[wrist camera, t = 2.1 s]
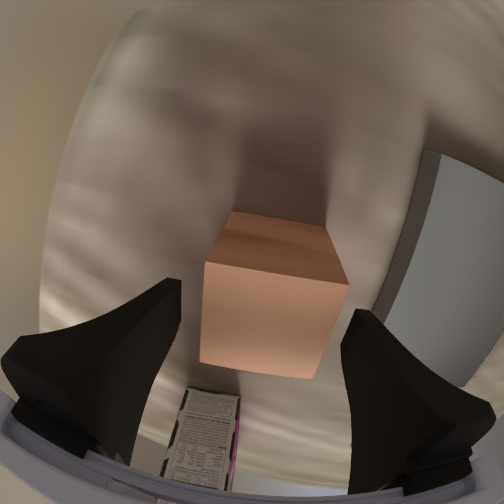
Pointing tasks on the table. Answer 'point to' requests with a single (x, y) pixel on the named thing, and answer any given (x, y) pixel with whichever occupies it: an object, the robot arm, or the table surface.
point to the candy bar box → (204, 441)
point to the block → (270, 296)
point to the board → (448, 269)
